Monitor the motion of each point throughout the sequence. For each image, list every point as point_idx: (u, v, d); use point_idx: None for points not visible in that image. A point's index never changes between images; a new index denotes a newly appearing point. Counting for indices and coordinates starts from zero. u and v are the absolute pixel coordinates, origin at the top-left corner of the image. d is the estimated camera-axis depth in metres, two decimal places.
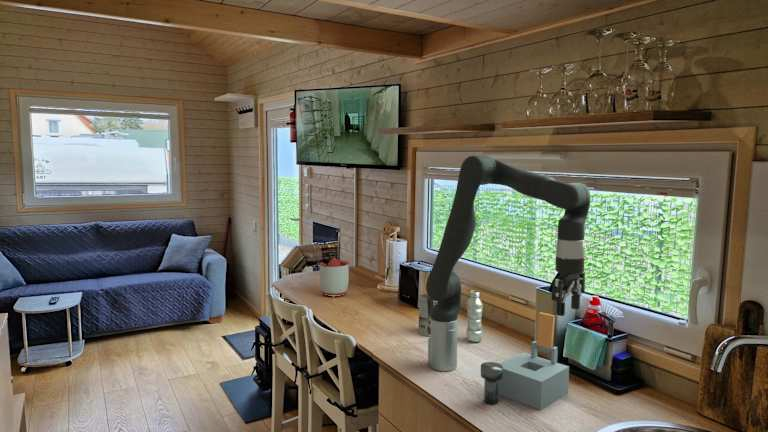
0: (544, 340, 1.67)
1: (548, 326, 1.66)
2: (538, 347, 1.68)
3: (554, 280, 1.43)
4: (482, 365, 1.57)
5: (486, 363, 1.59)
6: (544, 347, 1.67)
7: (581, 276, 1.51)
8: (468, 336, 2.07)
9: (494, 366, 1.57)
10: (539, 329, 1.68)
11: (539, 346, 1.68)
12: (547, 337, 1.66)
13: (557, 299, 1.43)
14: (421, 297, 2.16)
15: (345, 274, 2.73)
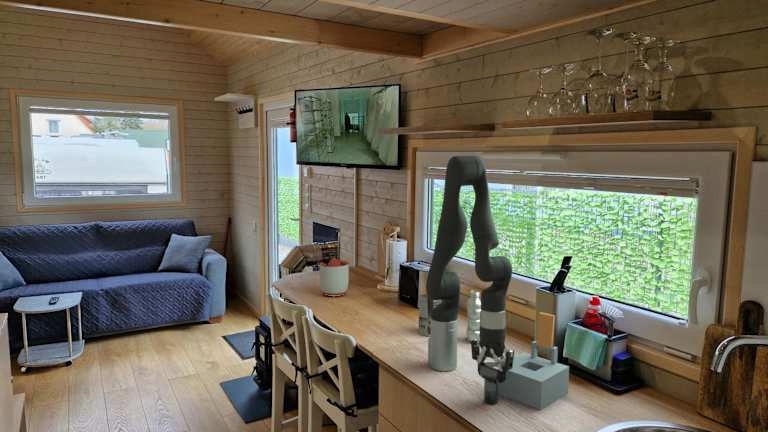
0: (544, 340, 1.67)
1: (548, 326, 1.66)
2: (538, 347, 1.68)
3: (510, 353, 1.51)
4: (482, 365, 1.57)
5: (486, 363, 1.59)
6: (544, 347, 1.67)
7: None
8: (468, 336, 2.07)
9: (494, 366, 1.57)
10: (539, 329, 1.68)
11: (539, 346, 1.68)
12: (547, 337, 1.66)
13: (510, 367, 1.53)
14: (421, 297, 2.16)
15: (345, 274, 2.73)
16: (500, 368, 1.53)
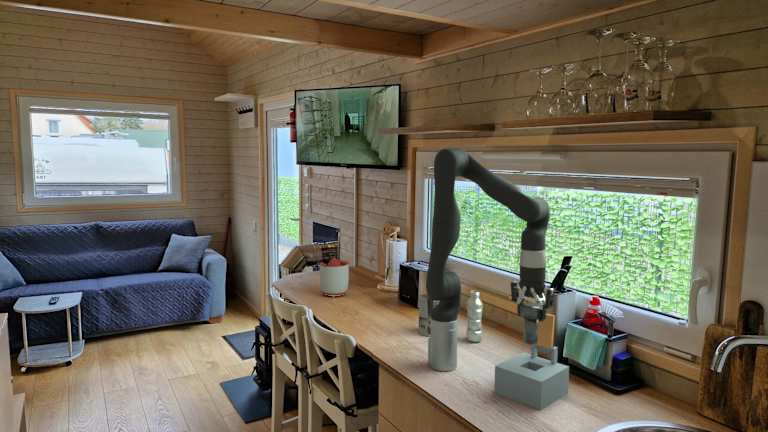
0: (544, 340, 1.67)
1: (548, 326, 1.66)
2: (538, 347, 1.68)
3: (551, 290, 1.54)
4: (522, 305, 1.61)
5: (526, 304, 1.62)
6: (544, 347, 1.67)
7: None
8: (468, 336, 2.07)
9: (534, 306, 1.60)
10: (539, 329, 1.68)
11: (539, 346, 1.68)
12: (547, 337, 1.66)
13: (551, 305, 1.56)
14: (421, 297, 2.16)
15: (345, 274, 2.73)
16: (541, 306, 1.56)
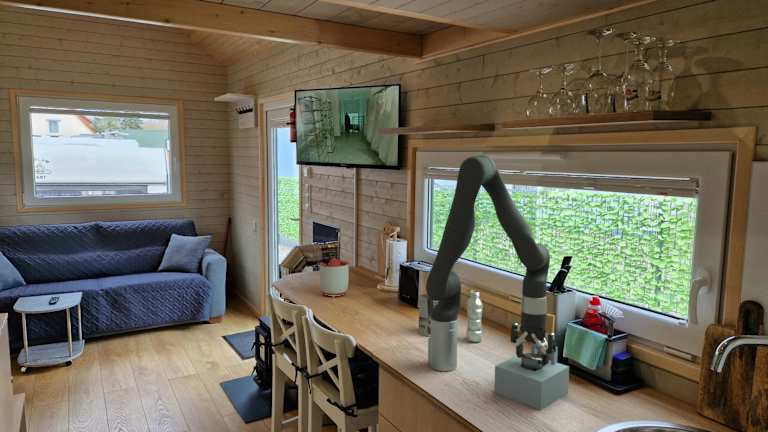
0: None
1: (548, 326, 1.66)
2: (538, 347, 1.68)
3: (552, 335, 1.56)
4: (522, 356, 1.63)
5: (526, 354, 1.65)
6: None
7: None
8: (468, 336, 2.07)
9: (534, 356, 1.63)
10: None
11: None
12: None
13: (554, 350, 1.58)
14: (421, 297, 2.16)
15: (345, 274, 2.73)
16: (544, 351, 1.58)
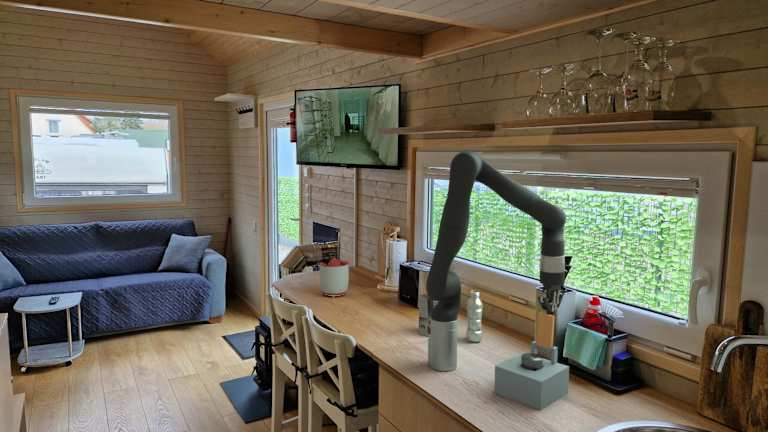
0: (544, 340, 1.67)
1: (548, 326, 1.66)
2: (538, 347, 1.68)
3: None
4: (522, 356, 1.63)
5: (526, 354, 1.65)
6: (544, 347, 1.67)
7: None
8: (468, 336, 2.07)
9: (534, 356, 1.63)
10: (539, 329, 1.68)
11: (539, 346, 1.68)
12: (547, 337, 1.66)
13: None
14: (421, 297, 2.16)
15: (345, 274, 2.73)
16: (555, 308, 1.68)
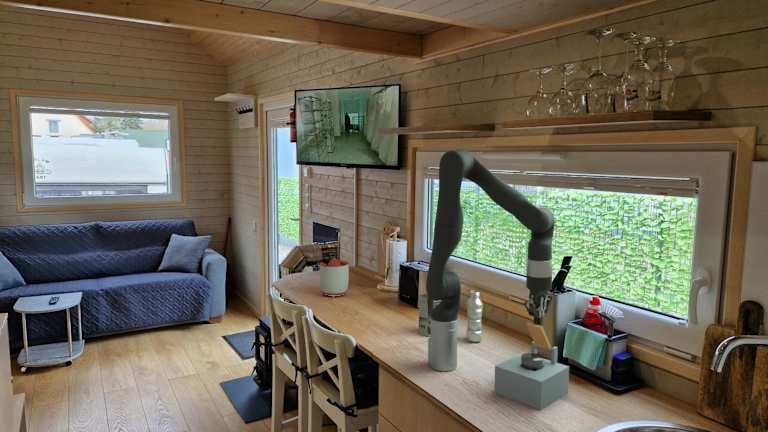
0: (541, 344, 1.66)
1: (540, 335, 1.63)
2: (538, 348, 1.68)
3: None
4: (522, 356, 1.63)
5: (526, 354, 1.65)
6: (544, 349, 1.67)
7: None
8: (468, 336, 2.07)
9: (534, 356, 1.63)
10: (533, 336, 1.66)
11: (539, 348, 1.68)
12: (543, 342, 1.64)
13: None
14: (421, 297, 2.16)
15: (345, 274, 2.73)
16: (543, 314, 1.63)
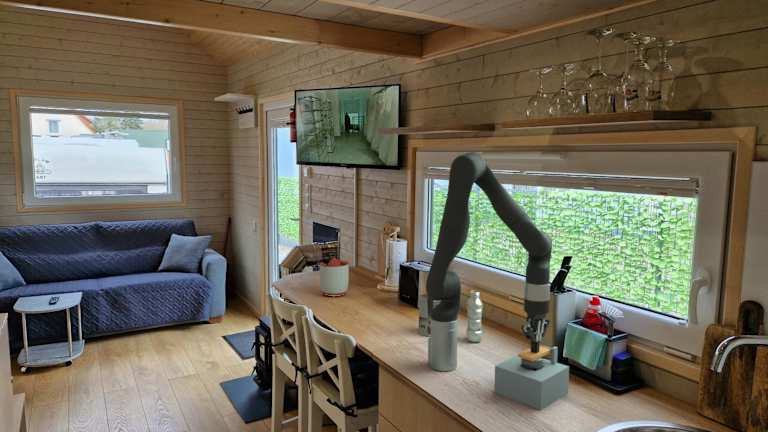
0: None
1: None
2: None
3: None
4: None
5: None
6: None
7: None
8: (468, 336, 2.07)
9: None
10: None
11: None
12: None
13: None
14: (421, 297, 2.16)
15: (345, 274, 2.73)
16: (540, 337, 1.62)
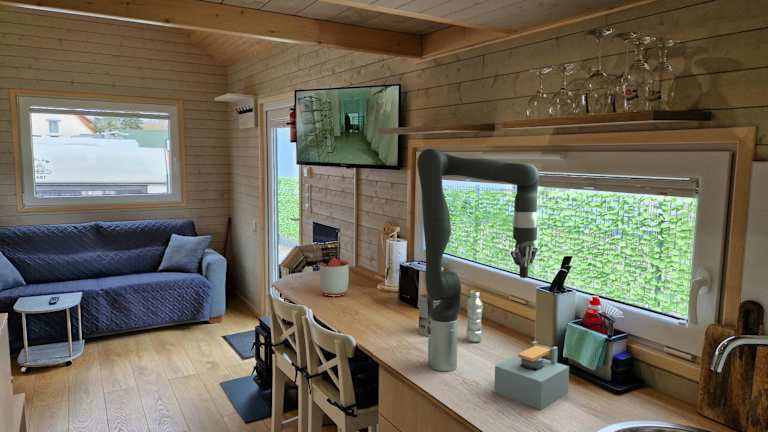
0: None
1: None
2: None
3: None
4: None
5: None
6: None
7: None
8: (468, 336, 2.07)
9: None
10: None
11: None
12: None
13: None
14: (421, 297, 2.16)
15: (345, 274, 2.73)
16: (528, 263, 1.73)
